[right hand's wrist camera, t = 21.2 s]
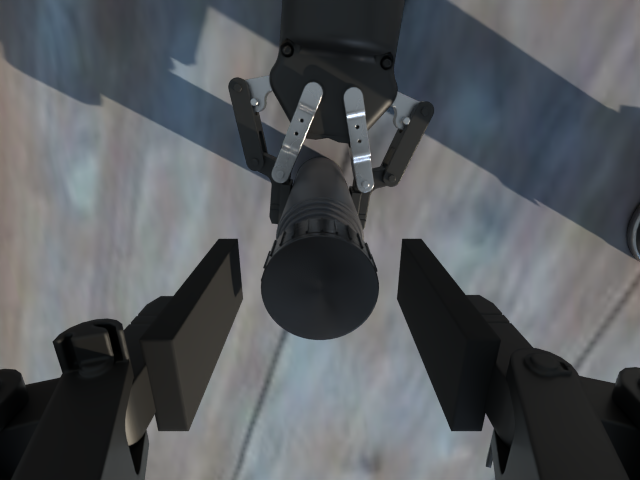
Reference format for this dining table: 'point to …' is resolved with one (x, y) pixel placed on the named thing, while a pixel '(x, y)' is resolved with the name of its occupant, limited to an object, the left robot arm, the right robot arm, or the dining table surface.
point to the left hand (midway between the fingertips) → (316, 231)
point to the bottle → (320, 197)
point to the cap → (319, 280)
